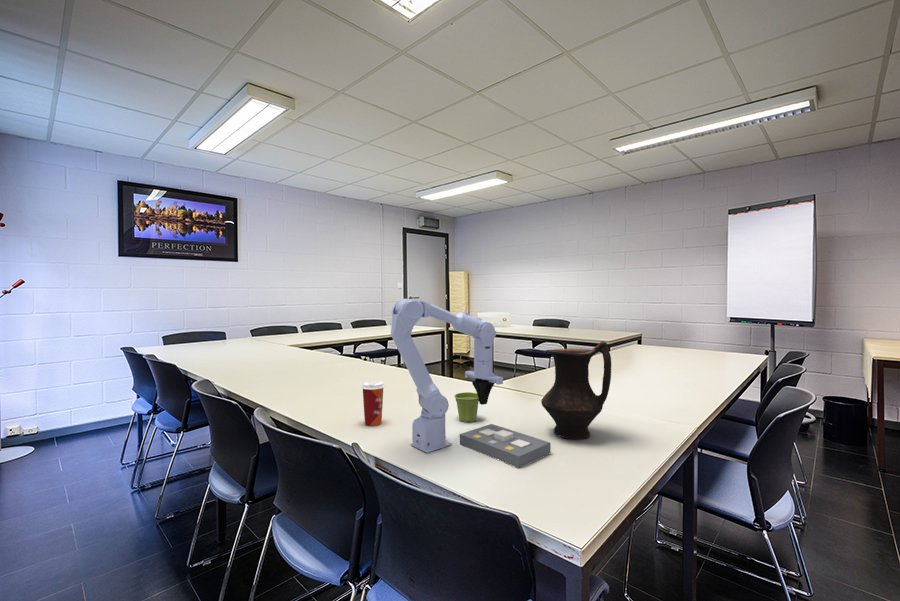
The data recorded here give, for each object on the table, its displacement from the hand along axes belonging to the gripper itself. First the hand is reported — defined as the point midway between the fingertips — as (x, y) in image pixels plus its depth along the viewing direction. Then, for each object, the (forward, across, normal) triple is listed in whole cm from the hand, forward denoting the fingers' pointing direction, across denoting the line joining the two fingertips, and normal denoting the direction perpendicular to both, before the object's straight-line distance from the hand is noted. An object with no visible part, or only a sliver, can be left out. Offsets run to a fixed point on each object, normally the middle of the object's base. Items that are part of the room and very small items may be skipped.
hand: (483, 403), depth 122 cm
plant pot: (+10, +16, -8) cm, 20 cm away
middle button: (+9, -11, +3) cm, 14 cm away
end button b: (+10, -17, +3) cm, 20 cm away
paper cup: (+11, +34, +19) cm, 41 cm away
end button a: (+10, -5, +3) cm, 11 cm away
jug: (+10, -18, -22) cm, 31 cm away
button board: (+10, -11, +3) cm, 15 cm away
